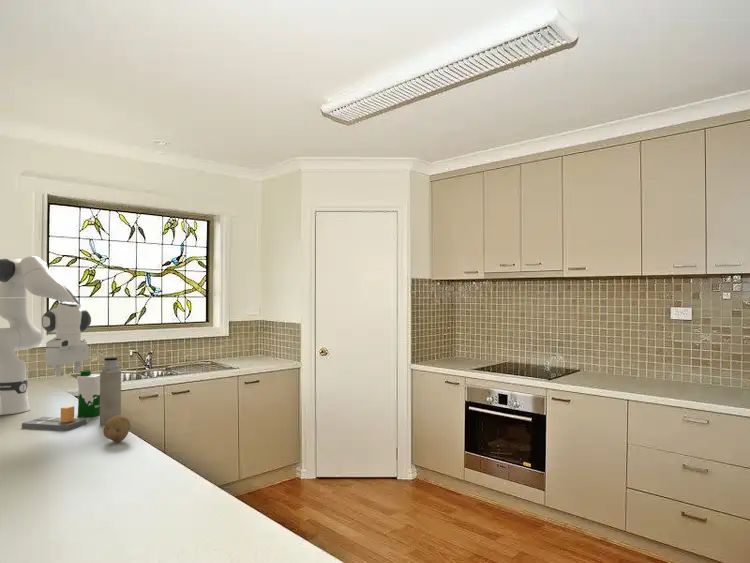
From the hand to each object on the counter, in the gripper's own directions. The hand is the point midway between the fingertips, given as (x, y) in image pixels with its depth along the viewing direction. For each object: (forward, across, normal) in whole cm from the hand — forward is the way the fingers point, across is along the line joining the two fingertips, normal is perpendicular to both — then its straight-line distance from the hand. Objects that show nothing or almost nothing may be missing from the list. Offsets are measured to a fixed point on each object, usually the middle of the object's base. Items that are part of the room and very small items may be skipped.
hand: (68, 374), depth 217 cm
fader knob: (+19, 0, 0) cm, 19 cm away
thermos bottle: (+22, -7, +14) cm, 27 cm away
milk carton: (+22, -19, -5) cm, 29 cm away
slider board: (+22, 0, -6) cm, 22 cm away
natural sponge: (+22, +17, +35) cm, 45 cm away
